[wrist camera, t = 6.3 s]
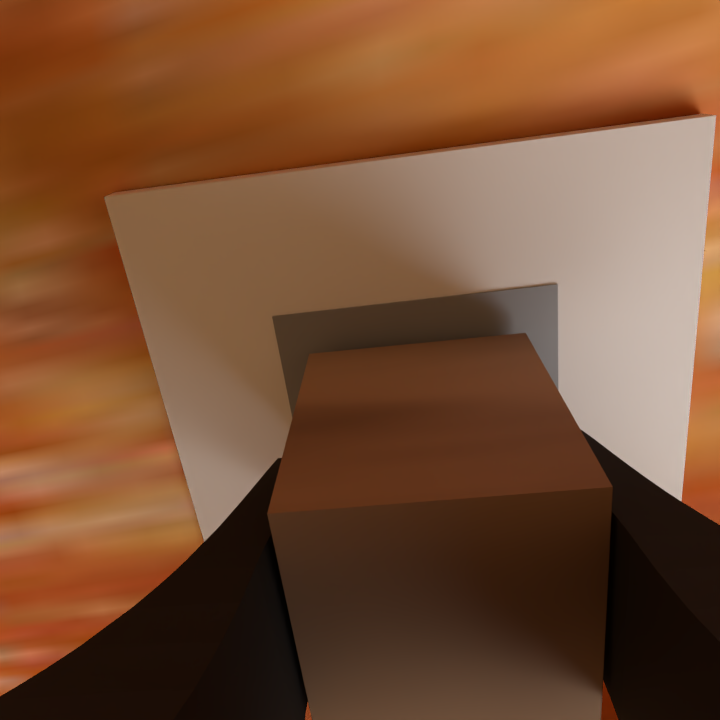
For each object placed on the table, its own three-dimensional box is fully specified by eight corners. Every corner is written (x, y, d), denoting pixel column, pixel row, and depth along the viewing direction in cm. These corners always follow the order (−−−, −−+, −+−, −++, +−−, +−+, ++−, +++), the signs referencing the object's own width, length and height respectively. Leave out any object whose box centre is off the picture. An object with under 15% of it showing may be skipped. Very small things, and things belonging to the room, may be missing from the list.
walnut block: (528, 510, 14) (600, 724, 9) (337, 525, 14) (316, 739, 10) (525, 332, 12) (613, 486, 8) (309, 353, 12) (267, 513, 8)
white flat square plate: (664, 583, 16) (673, 599, 15) (234, 614, 17) (229, 631, 16) (702, 113, 11) (717, 115, 11) (114, 192, 12) (102, 197, 12)
